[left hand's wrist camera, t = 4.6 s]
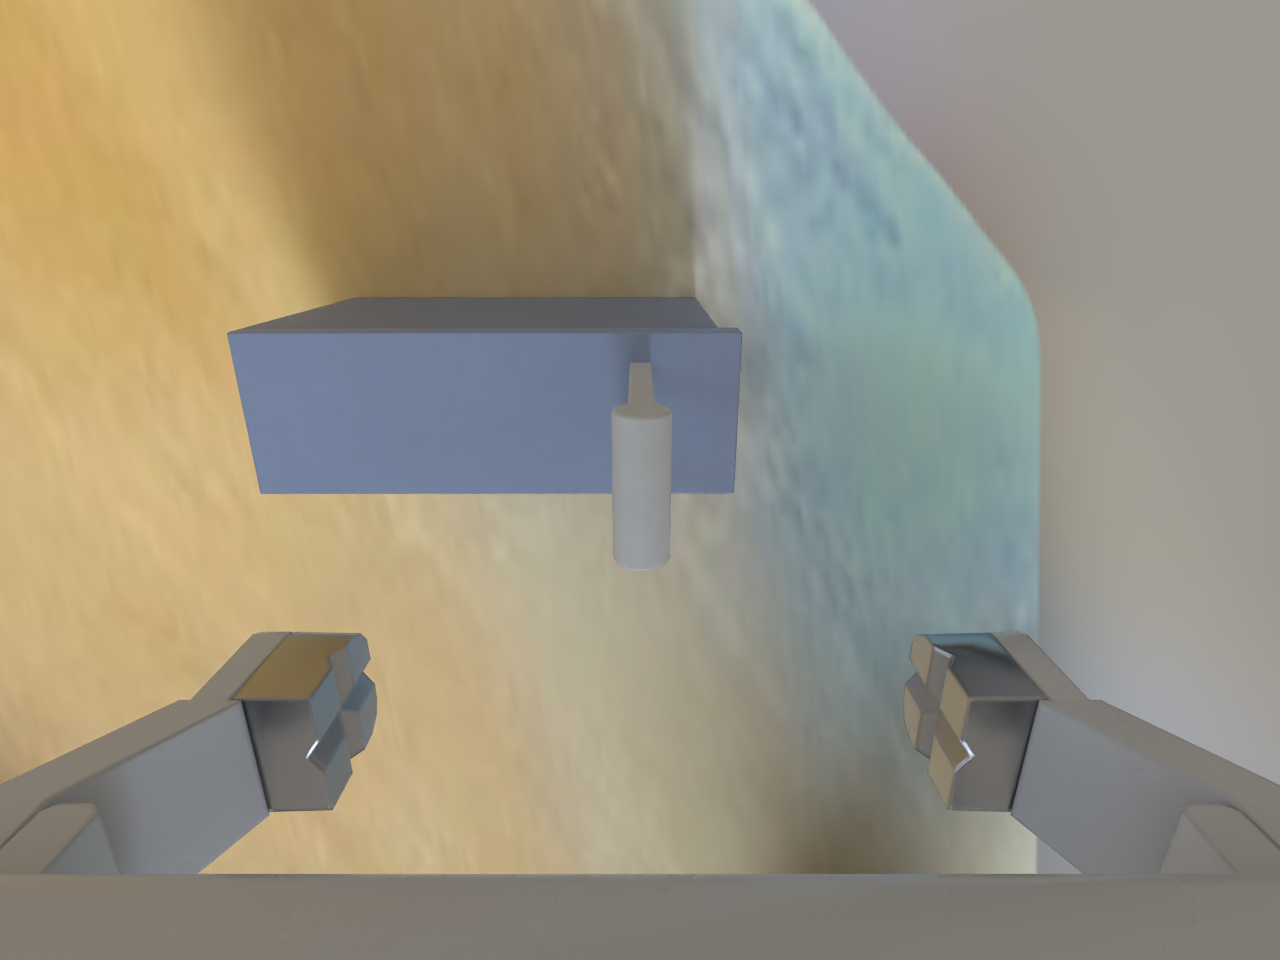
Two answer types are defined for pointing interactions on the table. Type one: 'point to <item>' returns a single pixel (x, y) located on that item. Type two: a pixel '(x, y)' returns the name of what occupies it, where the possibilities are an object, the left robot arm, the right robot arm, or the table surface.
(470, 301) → the chest
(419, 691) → the table surface
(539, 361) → the lid
